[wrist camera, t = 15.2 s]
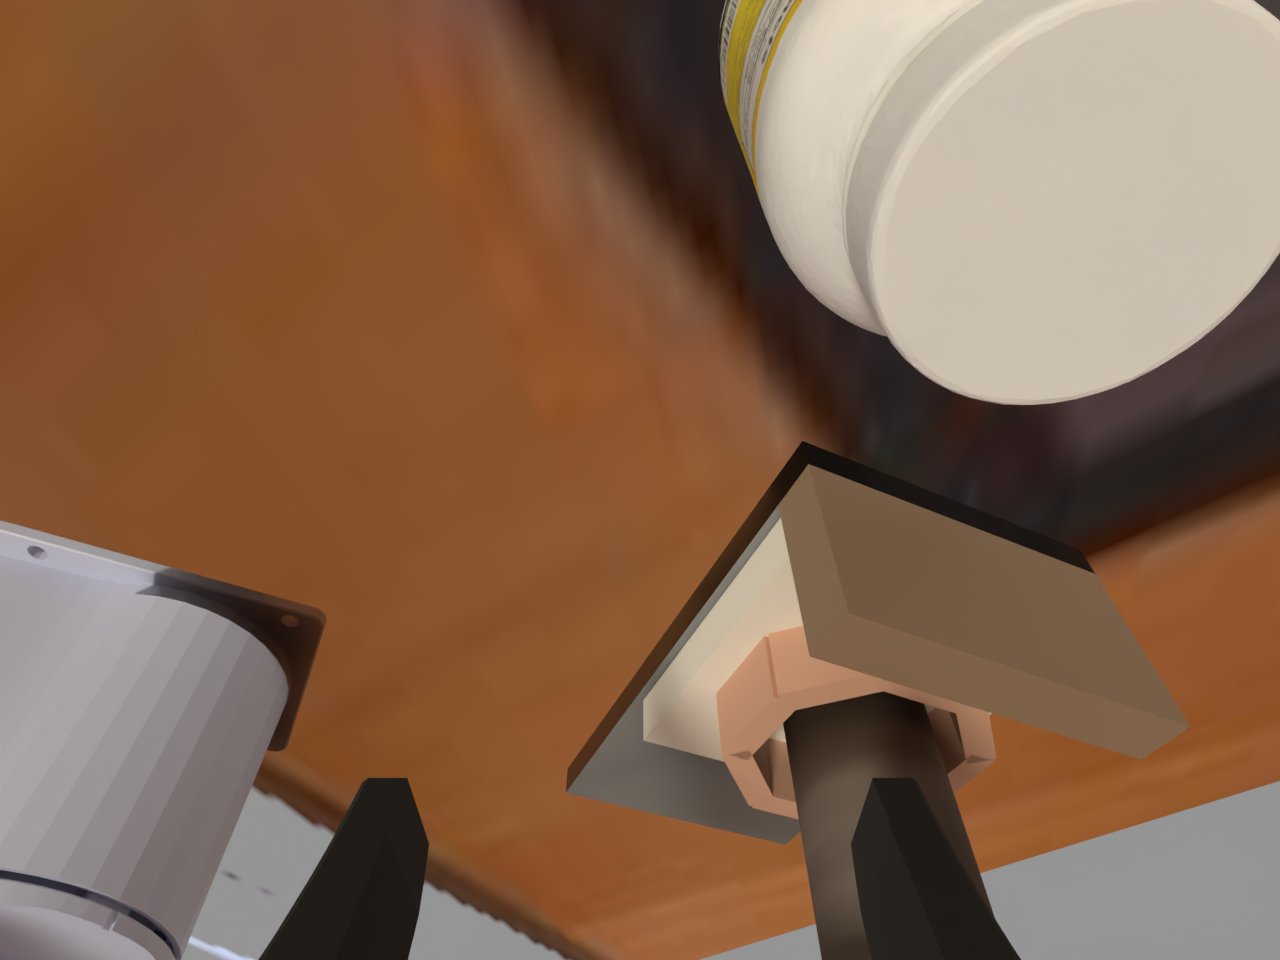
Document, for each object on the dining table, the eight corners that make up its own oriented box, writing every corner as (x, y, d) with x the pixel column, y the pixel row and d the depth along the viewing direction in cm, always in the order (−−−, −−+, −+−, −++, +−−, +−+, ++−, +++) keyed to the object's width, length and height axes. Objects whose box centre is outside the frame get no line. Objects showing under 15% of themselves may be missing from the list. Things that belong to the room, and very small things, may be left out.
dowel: (752, 688, 23) (787, 947, 18) (874, 631, 22) (952, 895, 16) (824, 748, 25) (876, 998, 20) (940, 699, 24) (1031, 957, 18)
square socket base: (643, 700, 26) (643, 800, 23) (785, 511, 21) (807, 611, 18) (872, 763, 29) (896, 861, 26) (1050, 607, 23) (1104, 708, 21)
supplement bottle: (1032, 102, 16) (1399, 349, 8) (775, 225, 17) (882, 528, 10) (969, -219, 13) (1455, -310, 5) (666, -37, 14) (695, 103, 7)
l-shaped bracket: (567, 768, 31) (554, 935, 26) (802, 441, 21) (849, 613, 16) (781, 820, 33) (805, 982, 28) (1080, 549, 23) (1190, 726, 19)
